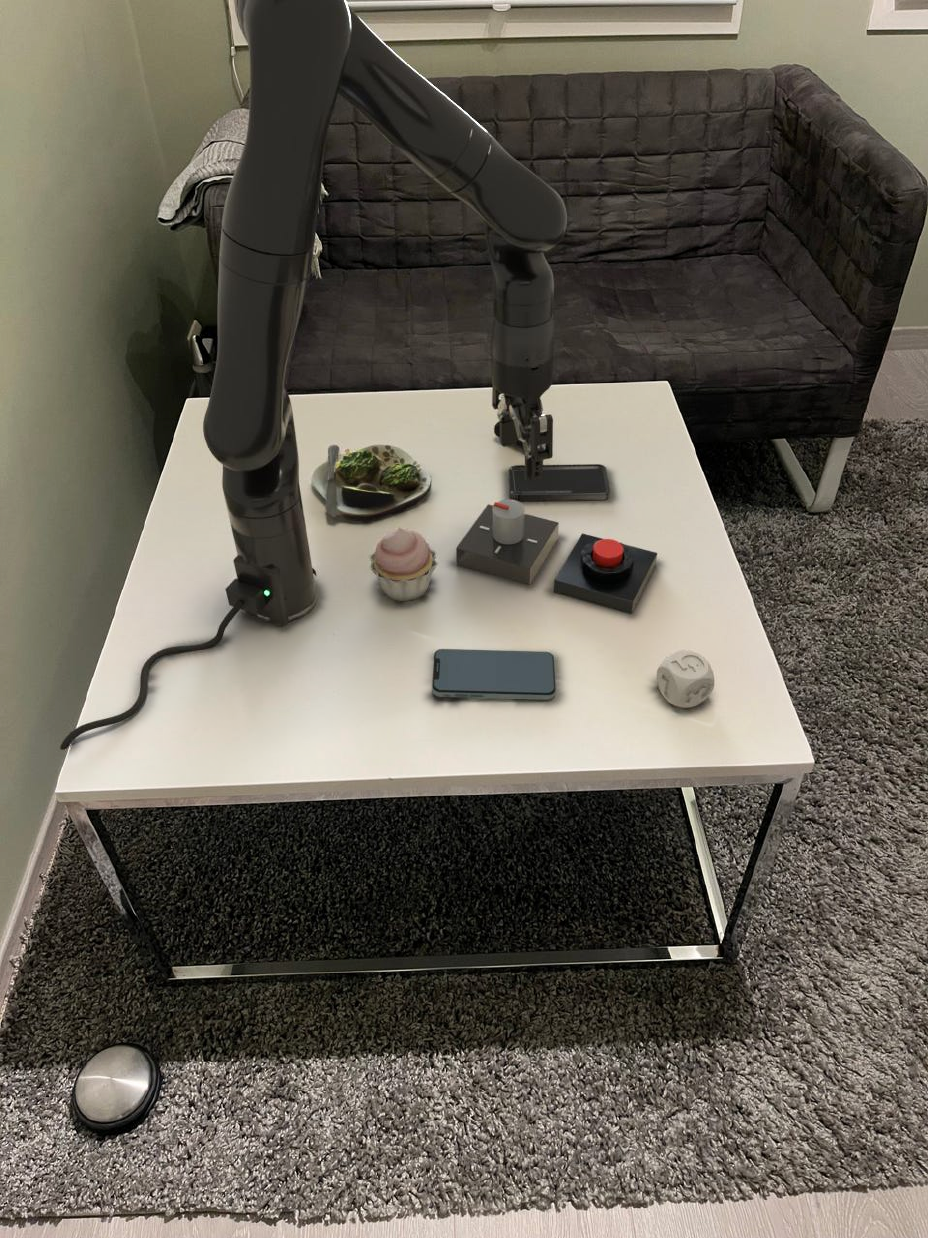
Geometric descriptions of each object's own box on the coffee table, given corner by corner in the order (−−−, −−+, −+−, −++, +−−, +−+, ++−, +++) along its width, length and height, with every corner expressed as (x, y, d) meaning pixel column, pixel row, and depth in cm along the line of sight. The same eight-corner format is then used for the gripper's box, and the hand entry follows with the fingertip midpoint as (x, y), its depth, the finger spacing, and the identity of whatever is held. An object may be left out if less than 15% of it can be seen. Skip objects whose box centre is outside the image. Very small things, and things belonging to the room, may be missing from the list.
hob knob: (529, 530, 142) (530, 502, 139) (515, 548, 139) (515, 520, 136) (501, 521, 144) (501, 494, 140) (486, 538, 141) (486, 511, 138)
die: (654, 685, 124) (658, 657, 121) (688, 673, 126) (694, 644, 122) (676, 713, 121) (681, 684, 117) (711, 700, 122) (717, 671, 119)
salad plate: (285, 470, 159) (281, 445, 156) (386, 436, 165) (384, 412, 162) (339, 536, 147) (335, 510, 144) (445, 496, 153) (444, 471, 150)
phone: (508, 465, 157) (605, 463, 157) (508, 471, 158) (604, 469, 157) (510, 495, 151) (610, 494, 151) (510, 501, 152) (610, 500, 152)
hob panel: (529, 585, 138) (530, 567, 136) (456, 564, 142) (455, 547, 139) (558, 538, 145) (559, 521, 143) (487, 520, 149) (487, 502, 147)
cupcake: (428, 558, 143) (424, 501, 136) (447, 600, 136) (445, 542, 129) (363, 572, 141) (357, 515, 134) (380, 616, 134) (374, 558, 127)
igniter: (631, 614, 134) (634, 591, 131) (553, 592, 137) (554, 569, 134) (655, 564, 141) (659, 542, 138) (581, 544, 144) (582, 522, 142)
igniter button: (616, 570, 135) (618, 560, 133) (588, 563, 136) (589, 553, 135) (626, 553, 137) (627, 543, 136) (598, 545, 138) (599, 535, 137)
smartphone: (556, 694, 122) (431, 691, 122) (555, 704, 123) (431, 700, 123) (553, 649, 127) (434, 646, 127) (552, 659, 128) (434, 656, 128)
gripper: (472, 328, 125) (474, 439, 136) (516, 383, 116) (514, 498, 127) (528, 317, 127) (526, 427, 138) (576, 370, 117) (569, 484, 128)
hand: (520, 461), depth 132 cm, fingers open, 8 cm apart
